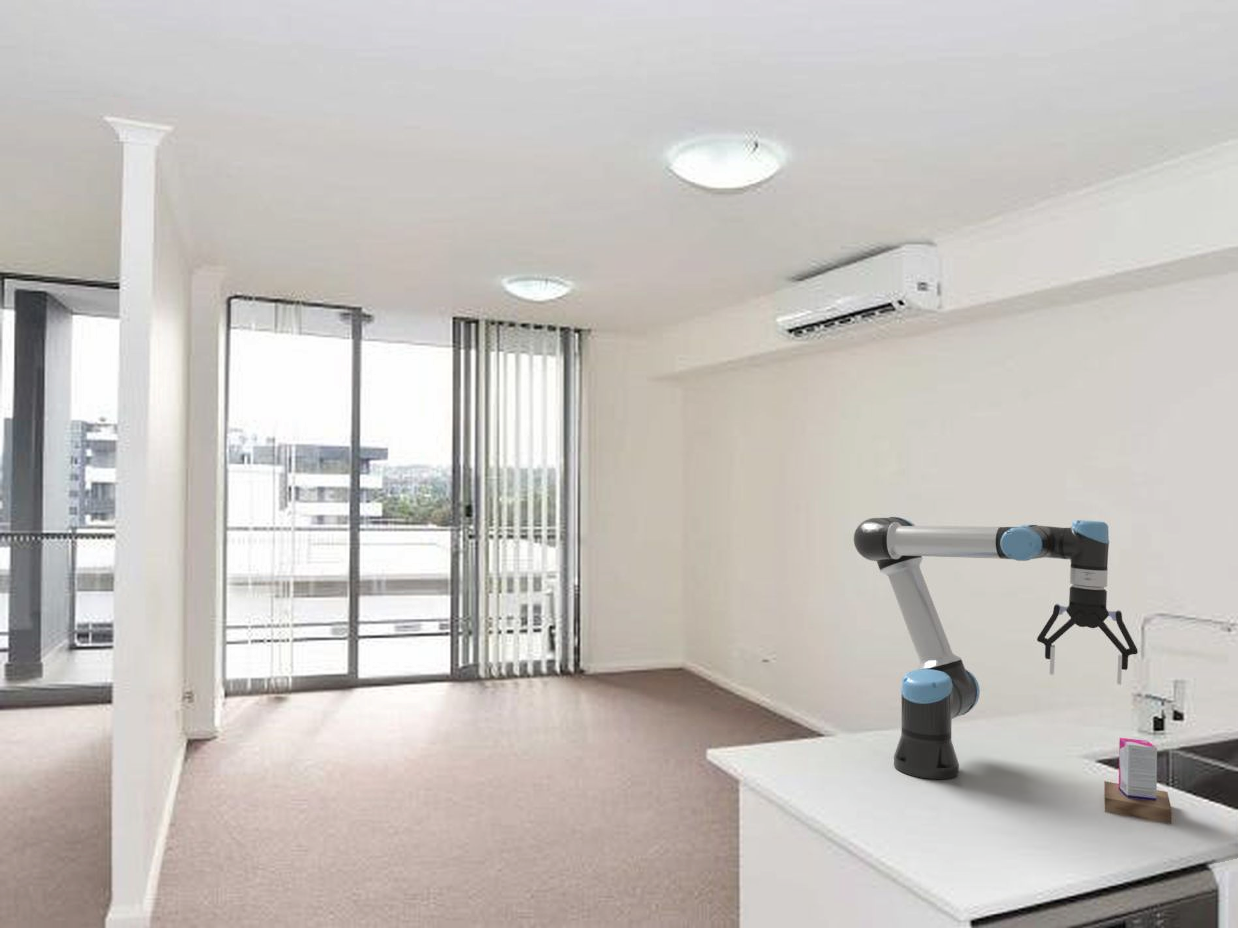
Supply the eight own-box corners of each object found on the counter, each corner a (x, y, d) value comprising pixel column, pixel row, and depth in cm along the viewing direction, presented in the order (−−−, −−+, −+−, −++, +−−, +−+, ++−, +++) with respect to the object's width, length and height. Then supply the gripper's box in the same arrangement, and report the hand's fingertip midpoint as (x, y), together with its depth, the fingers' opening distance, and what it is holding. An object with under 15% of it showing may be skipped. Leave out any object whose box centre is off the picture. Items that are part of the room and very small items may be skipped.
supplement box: (1157, 801, 175) (1157, 747, 175) (1126, 798, 176) (1126, 744, 177) (1147, 791, 181) (1147, 739, 181) (1117, 788, 182) (1117, 736, 182)
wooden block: (1104, 811, 176) (1104, 797, 177) (1104, 794, 187) (1104, 780, 187) (1171, 823, 170) (1171, 809, 170) (1167, 805, 181) (1167, 791, 181)
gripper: (1027, 582, 193) (1023, 672, 193) (1152, 594, 180) (1149, 690, 180) (1029, 579, 200) (1026, 666, 199) (1151, 591, 187) (1148, 684, 186)
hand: (1084, 678), depth 190 cm, fingers open, 13 cm apart
